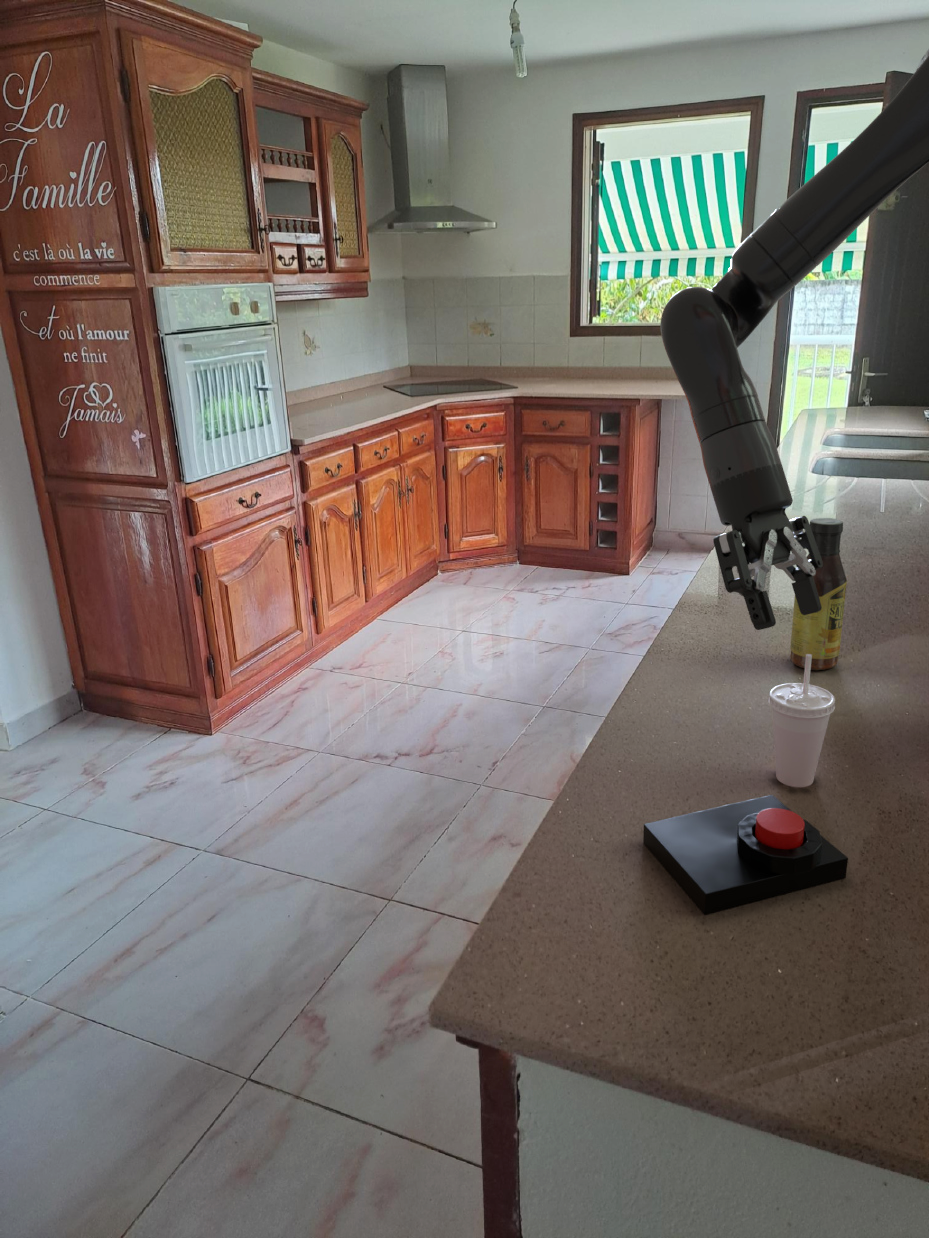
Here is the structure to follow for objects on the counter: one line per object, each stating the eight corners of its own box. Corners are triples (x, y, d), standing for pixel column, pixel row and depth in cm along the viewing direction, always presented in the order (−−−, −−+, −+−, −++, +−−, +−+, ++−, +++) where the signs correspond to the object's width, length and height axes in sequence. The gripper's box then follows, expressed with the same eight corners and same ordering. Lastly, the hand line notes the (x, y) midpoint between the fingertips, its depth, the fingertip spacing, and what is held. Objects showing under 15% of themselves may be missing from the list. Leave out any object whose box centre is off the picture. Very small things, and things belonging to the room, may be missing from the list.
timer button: (784, 820, 80) (785, 804, 79) (812, 845, 76) (814, 827, 76) (745, 829, 79) (746, 813, 78) (772, 855, 75) (774, 837, 75)
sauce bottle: (834, 675, 116) (849, 529, 109) (784, 668, 119) (796, 525, 112) (841, 657, 121) (856, 517, 114) (794, 651, 124) (805, 513, 117)
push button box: (770, 813, 87) (773, 778, 86) (849, 881, 77) (854, 842, 75) (643, 843, 84) (643, 807, 82) (707, 919, 73) (709, 879, 72)
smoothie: (839, 780, 92) (853, 657, 87) (802, 801, 89) (814, 675, 84) (787, 756, 97) (797, 639, 92) (750, 776, 94) (758, 655, 89)
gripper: (732, 467, 86) (781, 626, 85) (812, 455, 94) (857, 600, 93) (675, 491, 92) (720, 641, 91) (755, 479, 100) (797, 615, 99)
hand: (789, 620), depth 92 cm, fingers open, 8 cm apart
